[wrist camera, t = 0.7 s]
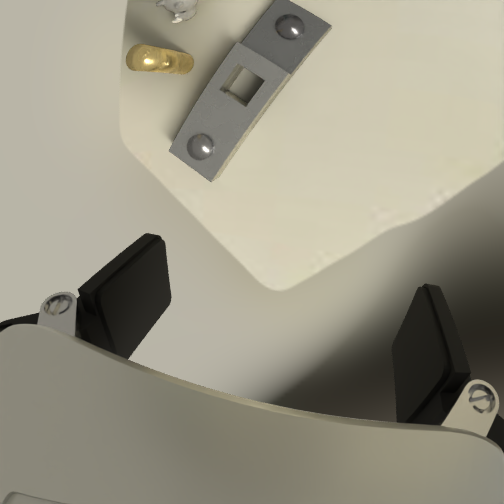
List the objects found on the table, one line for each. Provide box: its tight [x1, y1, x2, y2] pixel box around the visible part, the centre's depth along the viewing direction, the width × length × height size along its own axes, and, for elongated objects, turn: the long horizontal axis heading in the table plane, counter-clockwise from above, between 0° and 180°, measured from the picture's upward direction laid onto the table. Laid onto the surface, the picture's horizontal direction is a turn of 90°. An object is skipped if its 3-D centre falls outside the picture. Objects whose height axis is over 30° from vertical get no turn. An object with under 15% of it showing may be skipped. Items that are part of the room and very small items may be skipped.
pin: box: [126, 44, 194, 74], centre depth 27 cm, size 3×3×10 cm
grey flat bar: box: [169, 0, 332, 182], centre depth 29 cm, size 24×7×3 cm, turn 145°
